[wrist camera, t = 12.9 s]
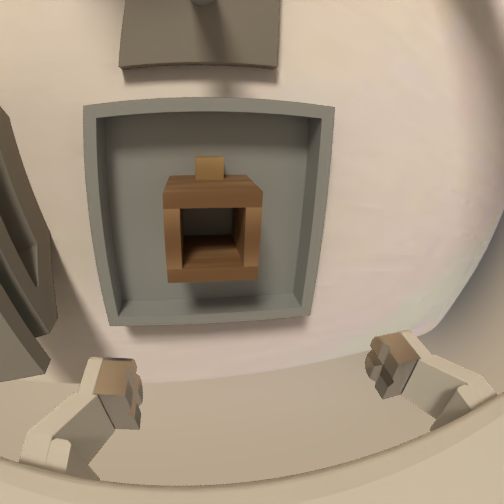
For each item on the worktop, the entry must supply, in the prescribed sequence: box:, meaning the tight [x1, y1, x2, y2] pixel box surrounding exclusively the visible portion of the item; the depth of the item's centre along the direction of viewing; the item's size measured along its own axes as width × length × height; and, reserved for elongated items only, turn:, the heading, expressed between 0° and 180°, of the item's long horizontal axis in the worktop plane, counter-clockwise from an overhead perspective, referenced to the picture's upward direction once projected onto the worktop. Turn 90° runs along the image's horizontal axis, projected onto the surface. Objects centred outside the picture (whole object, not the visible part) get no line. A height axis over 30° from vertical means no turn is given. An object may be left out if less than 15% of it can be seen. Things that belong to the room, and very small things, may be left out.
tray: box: [83, 97, 335, 326], centre depth 24 cm, size 18×18×3 cm
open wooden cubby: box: [163, 156, 263, 283], centre depth 21 cm, size 8×6×6 cm
